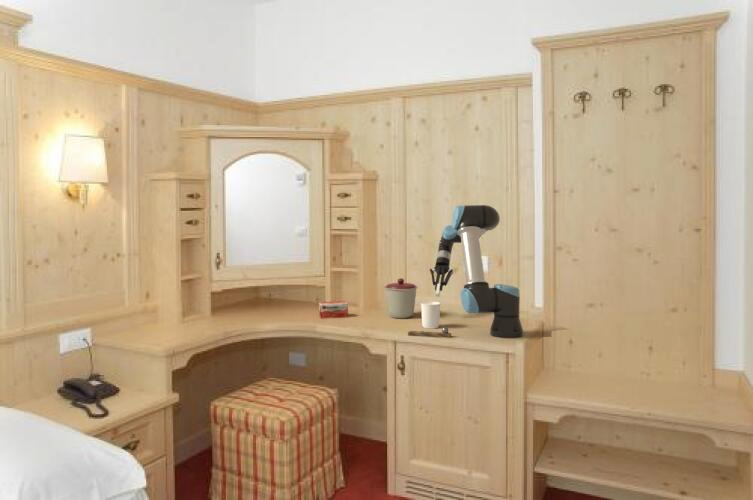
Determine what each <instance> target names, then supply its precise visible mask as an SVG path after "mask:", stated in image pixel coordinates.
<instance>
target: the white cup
mask: <svg viewBox="0 0 753 500" xmlns="http://www.w3.org/2000/svg"><path fill="white" fill-rule="evenodd" d="M420 310H421V325H422V328H424V329H431V330H432V329H438V328H439V327H440V316H441V302H439V301H422V302H420Z"/></svg>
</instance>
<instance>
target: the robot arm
mask: <svg viewBox="0 0 753 500" xmlns="http://www.w3.org/2000/svg"><path fill="white" fill-rule="evenodd" d="M499 223H500V215H499V212H498V211H497V210H496V209H495V208H493V207H492V206H490V205H487V204H482V205H476V204H475V205H473V204H471V205H470V204H469V205H467V204H463V205H456V206H455V207H454V210H453V212H452V217H451V224H450V225H446V226H445V227H444V228H443V230H442V233H441V236H440V237H441V238H440V239H441V240H440V239H439V242H441V243H439V242H438V248H437V250H438V251H437V255H436V260H435V265H434V267H433V268H429V272H430V275H431V280H432V286H434V290H435V295H436V298H437V297H440V296H441V295H440V294H441V292H442V291H443V287H444V286H445V287H446V286H448V283H449V281H450V278H451V277H452V275H453V274H454V269H451V268H450V264H451V258H452V252H453V247H454V244H457V243H458V244H459V243H461V250H462V257H463V266H464V267H463V268H464V271H465V272H464V273H465V281H466V283H465V284H463V288H462V289H461V291H460V301H461V305H462V307H463V309H464V311H465V313H468V314H475V315H478V314H490V313H492V314H493V319H492V323H491V325H490V329H489V335H491V336H494V337H497V338H498V337H499V338H519V336H520V335H522V334H523V335H524V329H523V326H522V323H521V320H520V299H521V296H520V289H519V287H516V286H513V285H508V284H501V283H500V284H499V283H496V284H494V285H493V287H490V284H489V282H488V281H486V279H485V273H484V272H485V271H484V265H483V259H482V250H481V243H480V242H479V238H480V237H481V236H482V235H484V234H486V233H487V232H489V231H492V230H494V229H495V228H497V227H498V225H499ZM435 273H436V276H435ZM435 277H436V279H435ZM523 335H522V336H523ZM520 337H521V336H520Z"/></svg>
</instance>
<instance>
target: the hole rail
mask: <svg viewBox="0 0 753 500" xmlns="http://www.w3.org/2000/svg"><path fill="white" fill-rule="evenodd" d="M407 336H412V337H429V338H431V337H432V338H447V339H449V338H451V337H452V332H448V334H443V333H442V331H441V332H439V331H424V330H423V331H419V330H418V331H417V330H409V331H408V332H407Z"/></svg>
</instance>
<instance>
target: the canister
mask: <svg viewBox="0 0 753 500" xmlns="http://www.w3.org/2000/svg"><path fill="white" fill-rule="evenodd" d="M383 288H384V289H385V296H386V297H385V298H386V305H387V312H388V315H389V316H390V317H391V318H393V319H408V318H409V319H410V318H412V316H413V315H414V313H415V307H416V306H415V305H416V297H417V295H416V294H417V289H418V286H417V285H415V284H413V283H410V282H405V280H404V279H403V278H398V279H397V282H393V283H388V284H386V285H385V286H384V287H383Z"/></svg>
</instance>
